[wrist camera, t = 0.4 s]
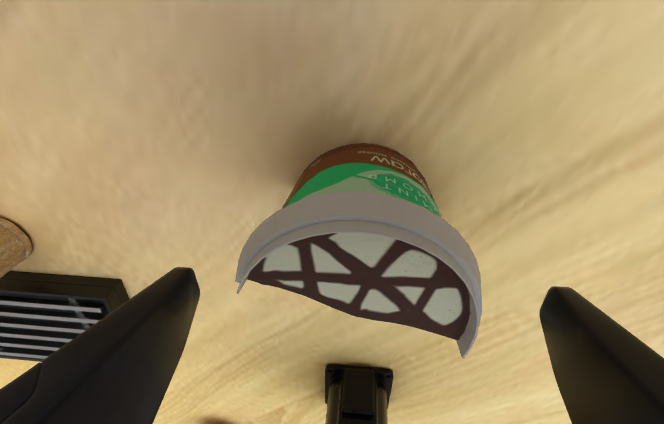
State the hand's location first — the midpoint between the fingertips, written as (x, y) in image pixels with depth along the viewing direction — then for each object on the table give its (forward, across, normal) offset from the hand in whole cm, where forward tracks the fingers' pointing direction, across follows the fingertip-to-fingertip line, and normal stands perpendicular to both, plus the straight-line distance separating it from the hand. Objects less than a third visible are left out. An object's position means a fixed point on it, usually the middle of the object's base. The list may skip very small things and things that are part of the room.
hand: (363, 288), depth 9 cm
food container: (+15, -1, +4) cm, 15 cm away
